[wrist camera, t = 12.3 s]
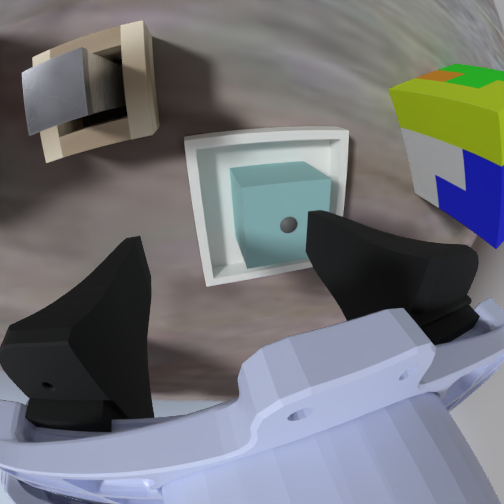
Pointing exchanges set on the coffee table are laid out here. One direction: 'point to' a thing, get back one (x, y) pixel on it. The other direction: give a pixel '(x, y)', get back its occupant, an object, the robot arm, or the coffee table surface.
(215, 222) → the tray
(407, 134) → the puzzle toy
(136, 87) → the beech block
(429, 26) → the coffee table surface
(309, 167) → the teal block
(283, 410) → the robot arm
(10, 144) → the coffee table surface
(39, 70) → the brushed steel block
